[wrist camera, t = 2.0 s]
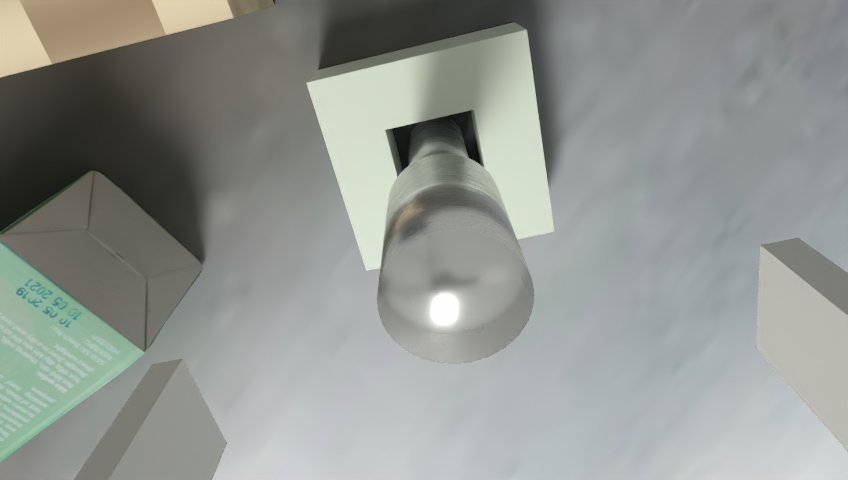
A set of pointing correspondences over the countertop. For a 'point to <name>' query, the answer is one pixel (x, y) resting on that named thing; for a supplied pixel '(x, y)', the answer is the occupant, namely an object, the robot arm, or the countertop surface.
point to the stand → (428, 99)
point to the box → (80, 300)
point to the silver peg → (450, 255)
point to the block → (98, 26)
